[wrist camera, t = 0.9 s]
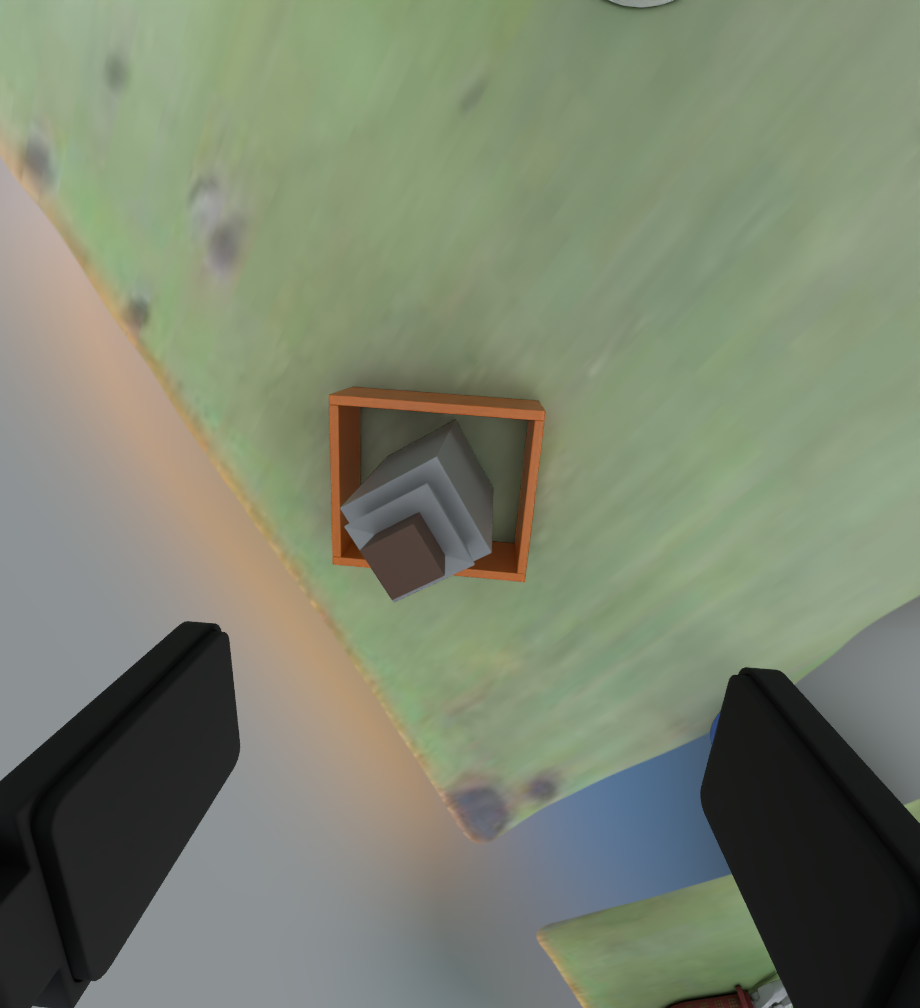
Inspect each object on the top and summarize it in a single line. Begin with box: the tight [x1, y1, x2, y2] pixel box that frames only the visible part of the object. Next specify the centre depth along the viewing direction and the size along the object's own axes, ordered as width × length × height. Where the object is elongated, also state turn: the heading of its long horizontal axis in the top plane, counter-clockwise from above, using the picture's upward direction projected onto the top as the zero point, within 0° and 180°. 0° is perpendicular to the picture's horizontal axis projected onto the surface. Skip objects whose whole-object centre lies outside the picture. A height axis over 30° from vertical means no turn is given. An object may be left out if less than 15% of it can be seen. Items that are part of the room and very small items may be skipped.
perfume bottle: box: [340, 419, 493, 602], centre depth 34 cm, size 7×7×18 cm
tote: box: [329, 387, 546, 582], centre depth 39 cm, size 13×15×6 cm
